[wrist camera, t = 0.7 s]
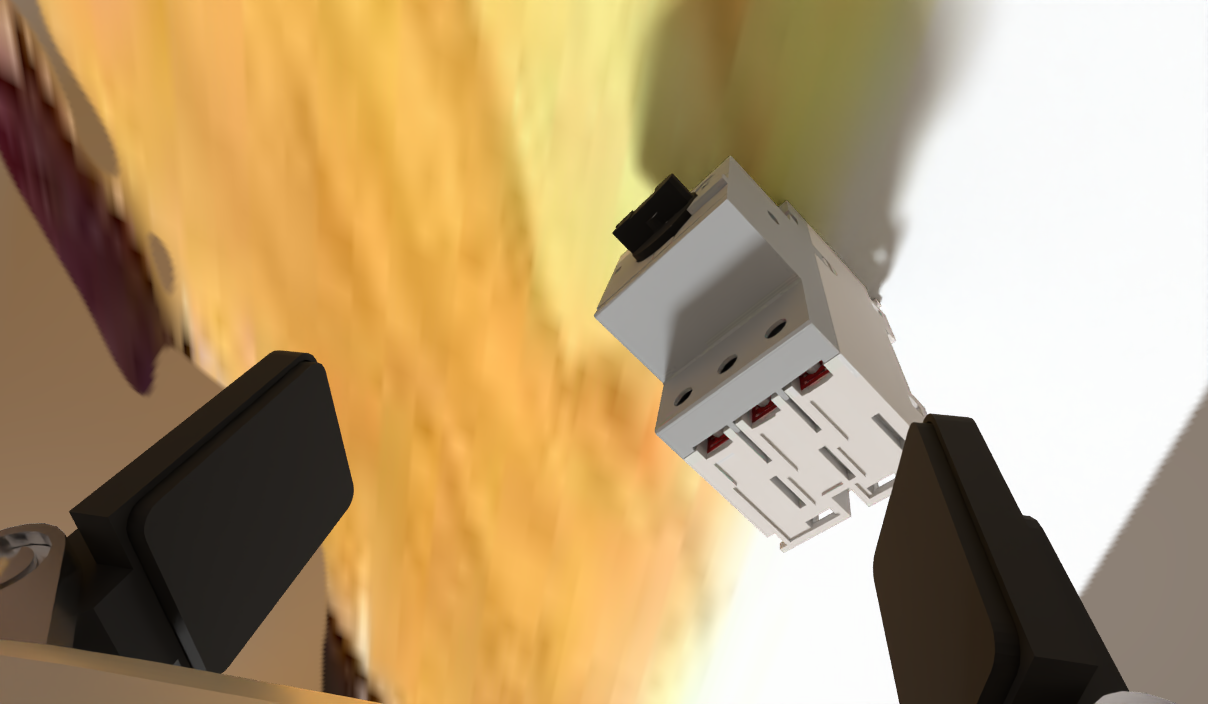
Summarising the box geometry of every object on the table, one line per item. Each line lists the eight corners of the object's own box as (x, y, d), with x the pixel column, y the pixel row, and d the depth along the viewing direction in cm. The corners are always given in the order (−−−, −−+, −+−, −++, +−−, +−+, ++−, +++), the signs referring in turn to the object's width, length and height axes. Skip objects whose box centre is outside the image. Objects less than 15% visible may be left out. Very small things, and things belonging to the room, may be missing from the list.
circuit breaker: (709, 114, 35) (688, 192, 22) (880, 303, 38) (951, 469, 25) (610, 211, 38) (541, 328, 25) (774, 376, 41) (788, 556, 28)
